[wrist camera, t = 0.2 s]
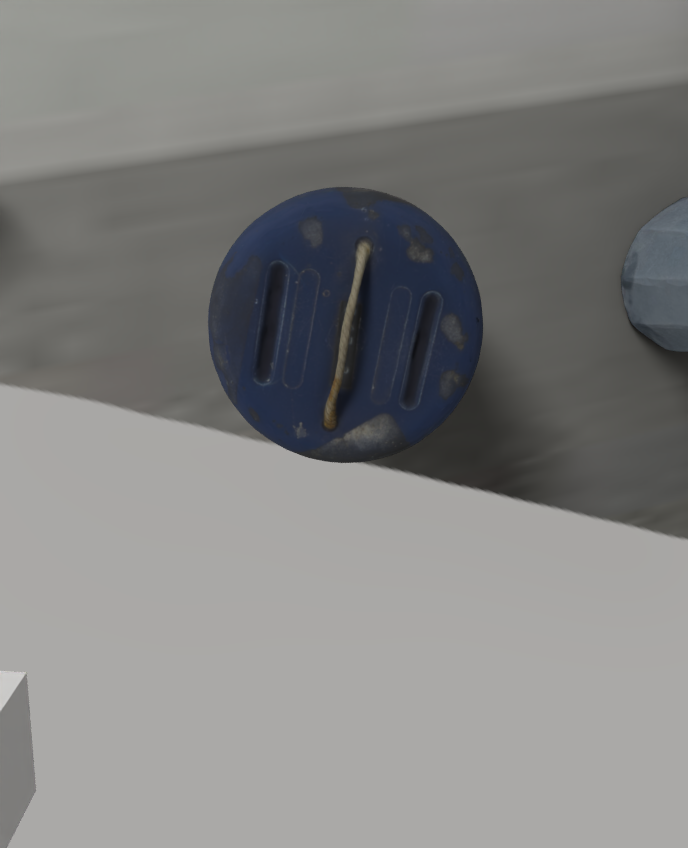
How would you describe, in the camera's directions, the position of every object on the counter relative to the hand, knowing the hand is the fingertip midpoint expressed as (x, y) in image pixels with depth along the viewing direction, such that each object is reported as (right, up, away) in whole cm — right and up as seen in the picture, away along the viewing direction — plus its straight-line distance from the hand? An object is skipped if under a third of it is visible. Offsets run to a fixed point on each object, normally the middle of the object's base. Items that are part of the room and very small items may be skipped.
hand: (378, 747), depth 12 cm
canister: (-1, +14, +25) cm, 29 cm away
